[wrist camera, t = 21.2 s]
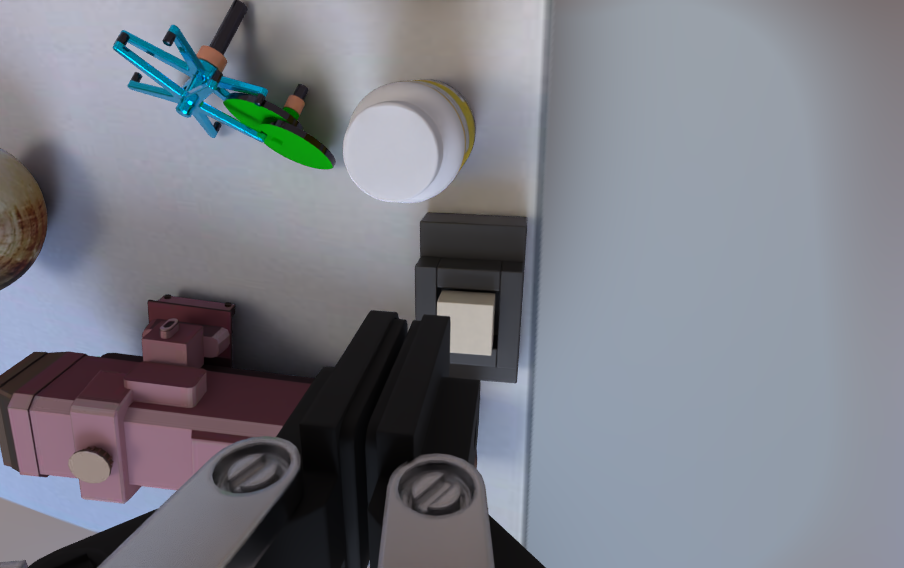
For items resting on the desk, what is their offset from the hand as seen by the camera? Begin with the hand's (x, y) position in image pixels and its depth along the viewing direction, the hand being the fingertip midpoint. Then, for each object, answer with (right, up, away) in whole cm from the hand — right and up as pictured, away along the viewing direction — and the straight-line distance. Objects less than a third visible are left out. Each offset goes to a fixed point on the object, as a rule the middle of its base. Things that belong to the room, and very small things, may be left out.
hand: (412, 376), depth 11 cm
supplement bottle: (0, +11, +20) cm, 22 cm away
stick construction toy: (-10, +14, +20) cm, 26 cm away
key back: (+2, 0, +19) cm, 19 cm away
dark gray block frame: (+2, +1, +22) cm, 23 cm away
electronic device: (-11, -5, +27) cm, 29 cm away
